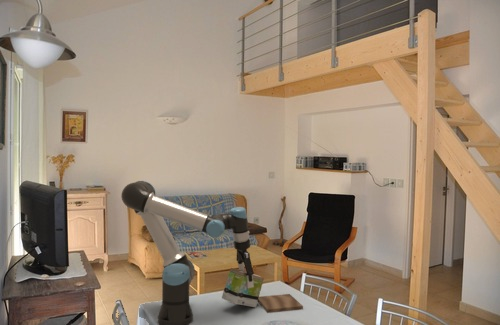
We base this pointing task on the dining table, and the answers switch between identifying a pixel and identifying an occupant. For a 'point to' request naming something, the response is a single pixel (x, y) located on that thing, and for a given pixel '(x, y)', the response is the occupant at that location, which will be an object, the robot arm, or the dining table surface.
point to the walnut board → (279, 303)
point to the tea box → (242, 288)
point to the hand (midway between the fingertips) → (246, 282)
